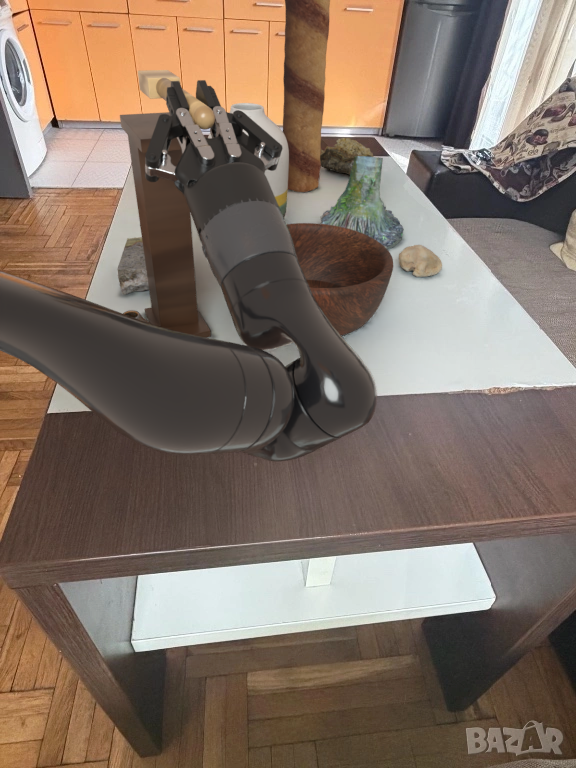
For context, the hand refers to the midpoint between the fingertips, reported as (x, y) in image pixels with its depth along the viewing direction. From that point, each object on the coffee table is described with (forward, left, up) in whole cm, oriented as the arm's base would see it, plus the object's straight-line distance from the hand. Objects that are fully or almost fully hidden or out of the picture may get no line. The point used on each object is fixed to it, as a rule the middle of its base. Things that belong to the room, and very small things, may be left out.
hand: (186, 88), depth 51 cm
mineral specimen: (+36, +92, -37) cm, 106 cm away
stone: (+40, +33, -37) cm, 64 cm away
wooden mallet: (-2, +5, -2) cm, 6 cm away
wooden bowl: (+17, +19, -37) cm, 45 cm away
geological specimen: (-10, +31, -37) cm, 49 cm away
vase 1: (-10, +3, -37) cm, 38 cm away
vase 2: (+7, +54, -37) cm, 66 cm away
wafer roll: (+21, +81, -37) cm, 92 cm away
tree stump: (+32, +52, -37) cm, 71 cm away
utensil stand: (-5, +13, -36) cm, 39 cm away
